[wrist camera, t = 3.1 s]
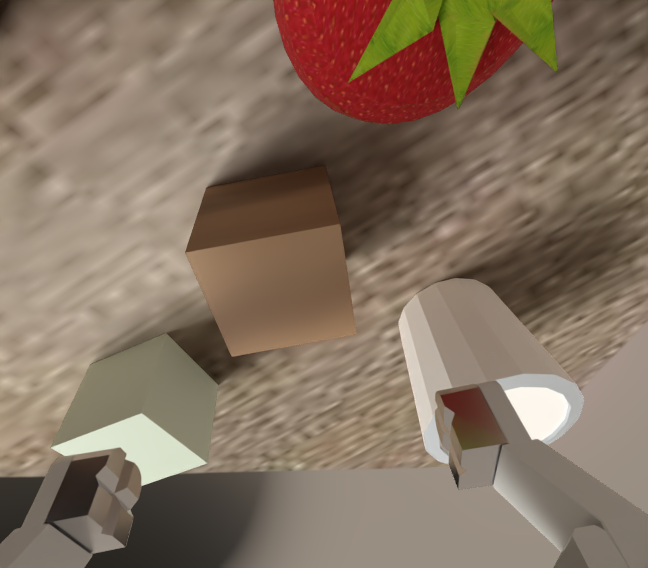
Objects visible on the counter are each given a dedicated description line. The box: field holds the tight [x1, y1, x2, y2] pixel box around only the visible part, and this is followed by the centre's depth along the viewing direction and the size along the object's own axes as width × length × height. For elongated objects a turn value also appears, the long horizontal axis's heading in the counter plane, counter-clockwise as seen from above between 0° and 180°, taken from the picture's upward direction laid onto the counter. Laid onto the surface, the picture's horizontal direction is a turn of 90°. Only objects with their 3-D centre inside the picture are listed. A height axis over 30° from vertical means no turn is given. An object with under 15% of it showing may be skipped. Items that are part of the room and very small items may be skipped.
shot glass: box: [398, 278, 584, 464], centre depth 20 cm, size 7×7×7 cm
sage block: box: [50, 333, 218, 486], centre depth 21 cm, size 5×5×5 cm
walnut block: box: [185, 166, 356, 357], centre depth 16 cm, size 5×5×5 cm
